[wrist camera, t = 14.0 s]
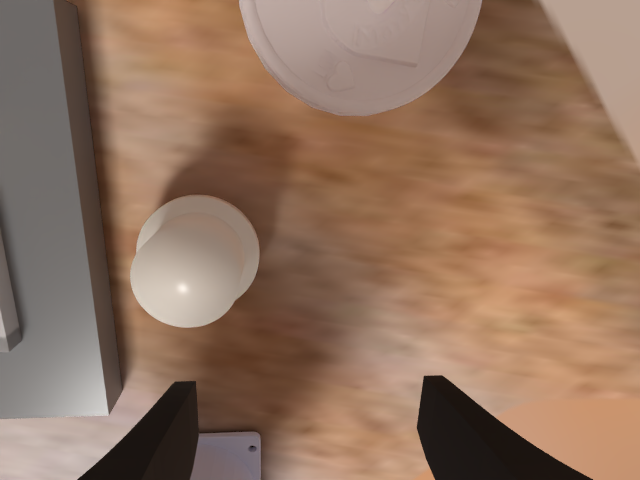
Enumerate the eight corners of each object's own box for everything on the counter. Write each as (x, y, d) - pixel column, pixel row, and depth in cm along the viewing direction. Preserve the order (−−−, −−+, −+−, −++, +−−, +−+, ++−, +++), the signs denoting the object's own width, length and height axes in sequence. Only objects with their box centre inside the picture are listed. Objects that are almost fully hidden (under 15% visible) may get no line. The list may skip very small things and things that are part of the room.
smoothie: (311, 143, 20) (370, 192, 7) (226, 29, 19) (95, -189, 5) (414, 62, 20) (693, -51, 6) (338, -64, 18) (507, -584, 5)
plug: (260, 293, 23) (256, 340, 18) (153, 294, 22) (119, 343, 17) (260, 191, 21) (256, 213, 16) (144, 188, 20) (104, 211, 16)
